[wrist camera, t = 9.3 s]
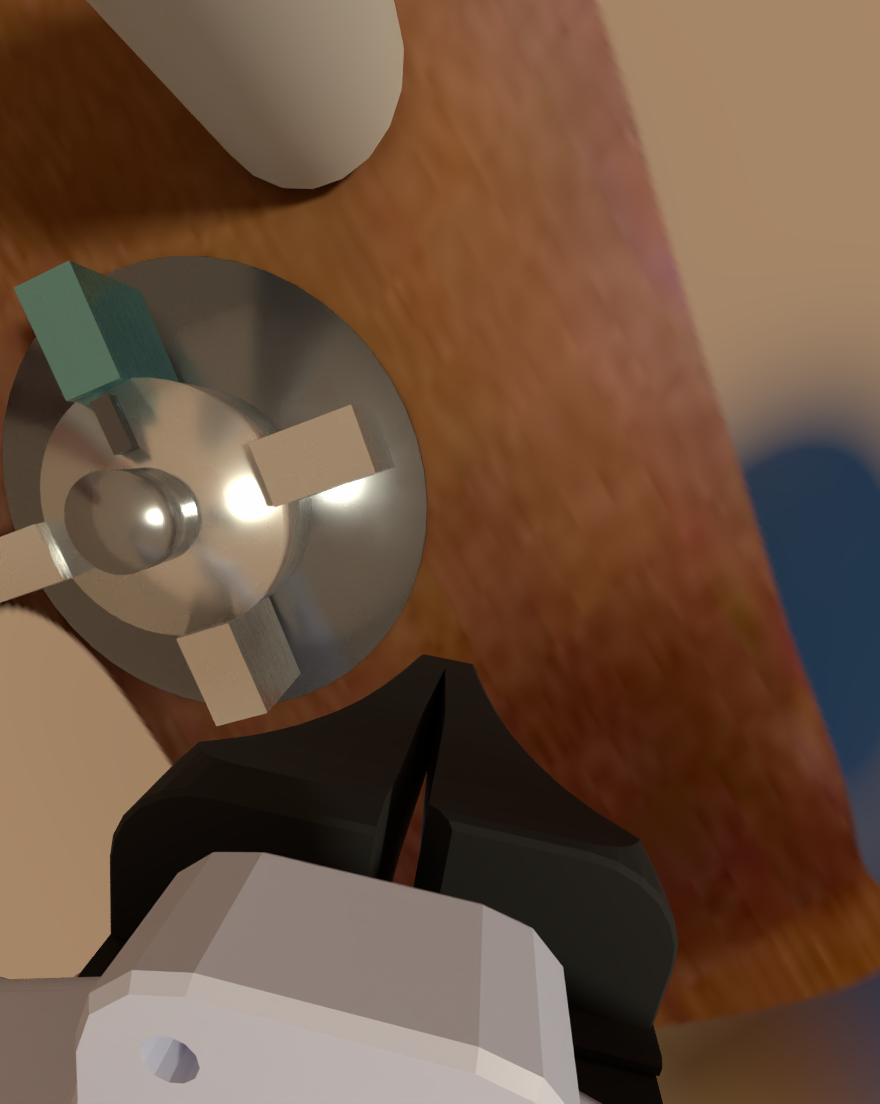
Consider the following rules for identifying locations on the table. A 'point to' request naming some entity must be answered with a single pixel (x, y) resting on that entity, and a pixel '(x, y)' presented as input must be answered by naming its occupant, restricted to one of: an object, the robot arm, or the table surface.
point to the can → (275, 76)
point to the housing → (167, 506)
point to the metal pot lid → (202, 467)
